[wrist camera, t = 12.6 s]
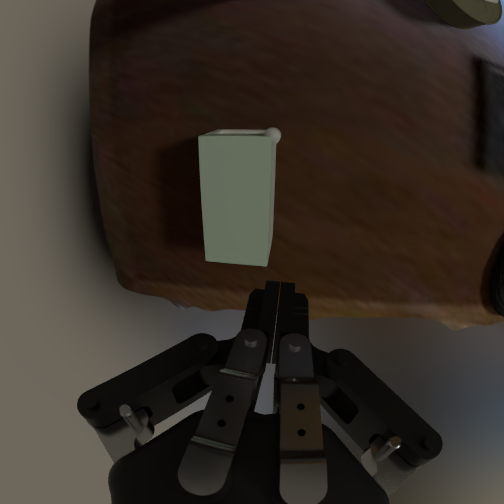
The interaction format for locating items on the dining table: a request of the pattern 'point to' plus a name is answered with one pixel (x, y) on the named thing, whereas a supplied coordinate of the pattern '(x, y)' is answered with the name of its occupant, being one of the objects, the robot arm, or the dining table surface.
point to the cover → (237, 195)
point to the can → (467, 12)
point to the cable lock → (498, 284)
